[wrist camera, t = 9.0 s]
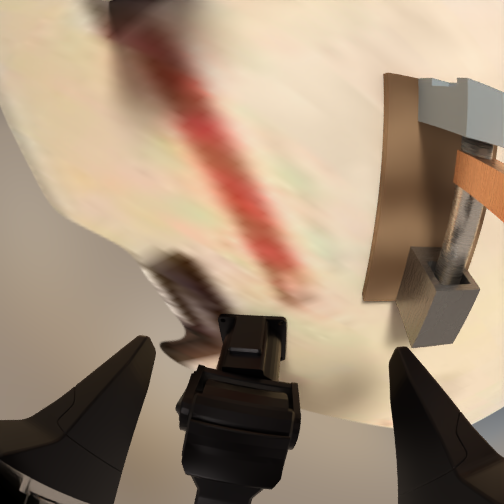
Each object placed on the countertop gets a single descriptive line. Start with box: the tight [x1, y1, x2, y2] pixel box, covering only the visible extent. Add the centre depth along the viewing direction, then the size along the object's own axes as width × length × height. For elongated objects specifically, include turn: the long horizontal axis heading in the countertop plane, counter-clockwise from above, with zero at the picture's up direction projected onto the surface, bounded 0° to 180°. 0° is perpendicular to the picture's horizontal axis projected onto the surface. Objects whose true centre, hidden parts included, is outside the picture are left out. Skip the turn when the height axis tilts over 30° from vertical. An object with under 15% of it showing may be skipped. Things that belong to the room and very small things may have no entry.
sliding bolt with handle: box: [434, 136, 504, 285], centre depth 11 cm, size 14×3×9 cm, turn 3°
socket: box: [418, 78, 504, 148], centre depth 11 cm, size 3×6×6 cm, turn 94°
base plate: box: [362, 73, 497, 301], centre depth 17 cm, size 18×10×1 cm, turn 3°
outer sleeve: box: [395, 246, 480, 348], centre depth 18 cm, size 6×4×6 cm
